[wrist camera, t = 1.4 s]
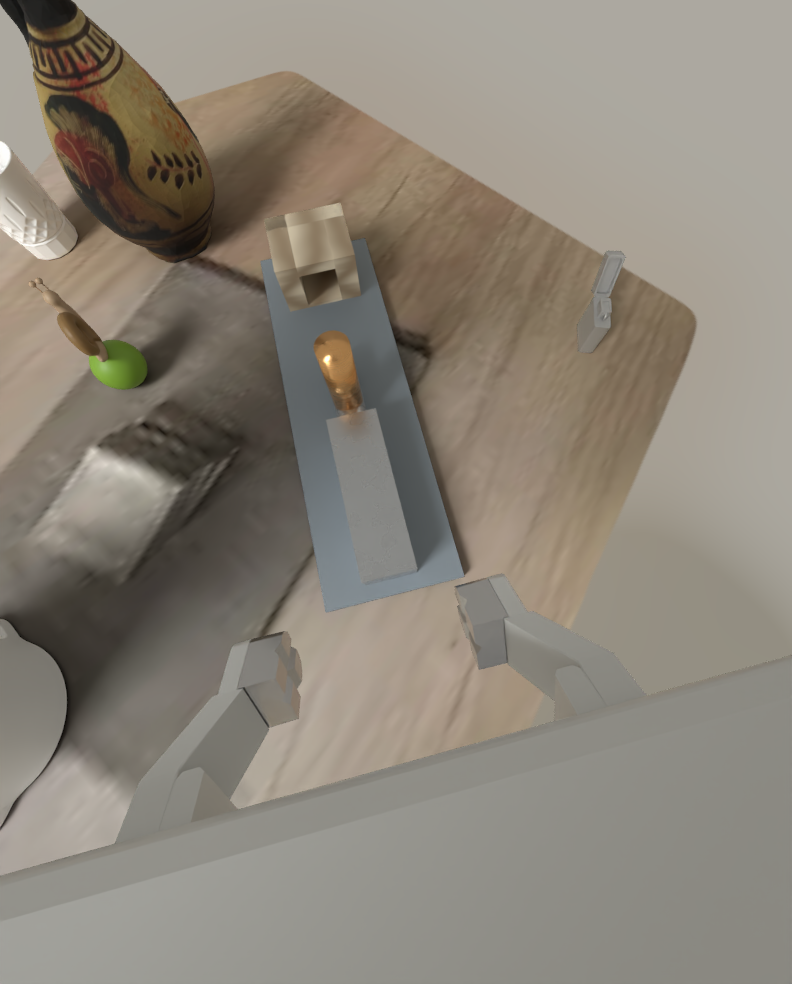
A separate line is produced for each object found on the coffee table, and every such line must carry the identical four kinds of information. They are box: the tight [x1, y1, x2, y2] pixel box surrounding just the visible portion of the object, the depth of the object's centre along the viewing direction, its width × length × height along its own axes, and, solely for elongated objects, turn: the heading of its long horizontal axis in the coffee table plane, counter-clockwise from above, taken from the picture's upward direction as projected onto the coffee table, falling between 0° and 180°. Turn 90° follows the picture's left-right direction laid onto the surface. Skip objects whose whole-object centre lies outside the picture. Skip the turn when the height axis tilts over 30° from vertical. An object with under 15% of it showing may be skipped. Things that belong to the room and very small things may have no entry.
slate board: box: [261, 238, 465, 612], centre depth 44 cm, size 14×45×1 cm, turn 14°
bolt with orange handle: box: [314, 330, 366, 417], centre depth 35 cm, size 3×24×11 cm, turn 14°
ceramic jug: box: [0, 0, 214, 263], centre depth 38 cm, size 17×15×30 cm
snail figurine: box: [28, 278, 147, 389], centre depth 41 cm, size 5×6×12 cm
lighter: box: [577, 251, 626, 353], centre depth 42 cm, size 7×2×8 cm, turn 174°
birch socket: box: [264, 203, 361, 312], centre depth 45 cm, size 9×8×6 cm
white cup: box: [0, 141, 78, 260], centre depth 48 cm, size 8×8×10 cm
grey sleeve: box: [326, 408, 418, 585], centre depth 37 cm, size 5×16×5 cm, turn 14°
